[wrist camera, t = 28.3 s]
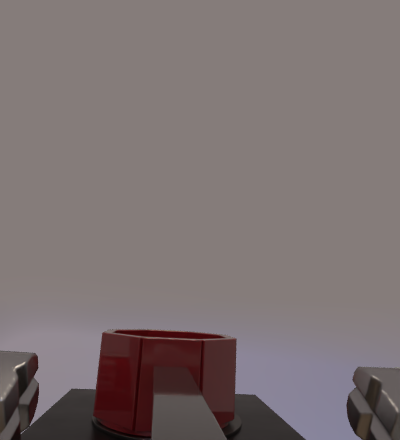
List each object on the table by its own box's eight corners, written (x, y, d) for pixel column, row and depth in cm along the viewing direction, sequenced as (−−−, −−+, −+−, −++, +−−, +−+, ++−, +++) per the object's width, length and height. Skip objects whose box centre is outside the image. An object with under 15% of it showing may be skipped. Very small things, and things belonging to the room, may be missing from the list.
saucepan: (218, 400, 29) (220, 332, 30) (402, 670, 7) (382, 391, 9) (105, 397, 28) (113, 327, 29) (-63, 695, 6) (-5, 378, 8)
